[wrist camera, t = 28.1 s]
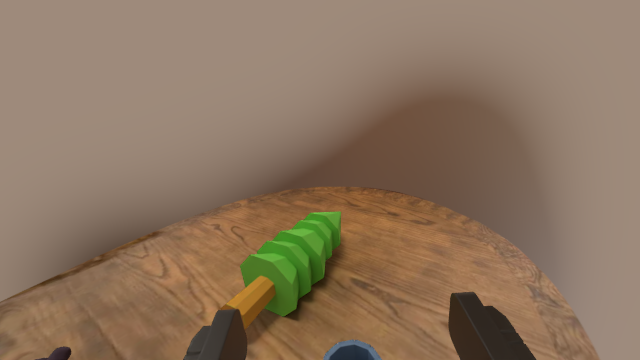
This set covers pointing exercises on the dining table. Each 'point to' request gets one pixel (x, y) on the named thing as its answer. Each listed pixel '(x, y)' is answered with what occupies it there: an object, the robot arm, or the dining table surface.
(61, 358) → the figurine
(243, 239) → the dining table surface
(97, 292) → the dining table surface
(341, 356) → the sleeve
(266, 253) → the decorative tree
